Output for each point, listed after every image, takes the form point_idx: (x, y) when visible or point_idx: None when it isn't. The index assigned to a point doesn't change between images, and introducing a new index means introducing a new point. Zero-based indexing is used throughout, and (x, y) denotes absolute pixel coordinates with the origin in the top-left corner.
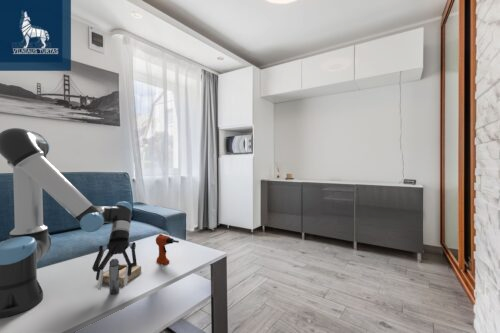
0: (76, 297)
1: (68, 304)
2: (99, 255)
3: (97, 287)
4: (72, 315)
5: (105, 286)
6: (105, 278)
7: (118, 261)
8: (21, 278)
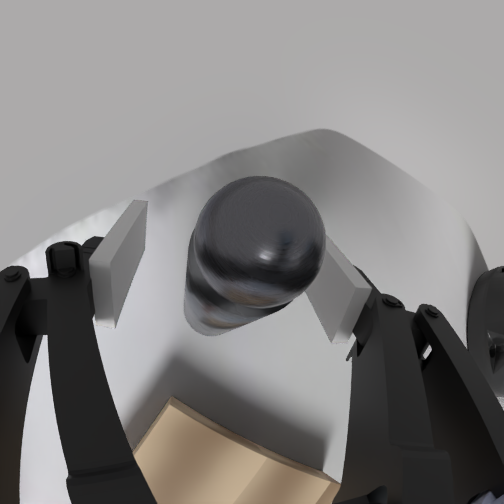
0: None
1: (391, 279)
2: (488, 410)
3: None
4: (346, 186)
5: (277, 415)
6: (295, 466)
7: (197, 226)
8: None
